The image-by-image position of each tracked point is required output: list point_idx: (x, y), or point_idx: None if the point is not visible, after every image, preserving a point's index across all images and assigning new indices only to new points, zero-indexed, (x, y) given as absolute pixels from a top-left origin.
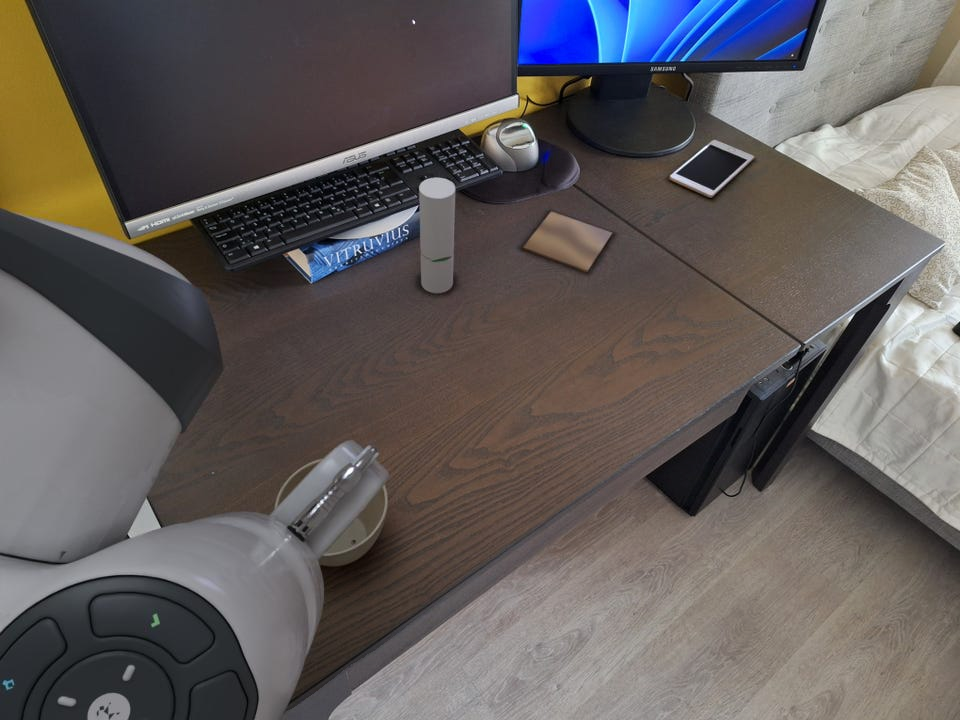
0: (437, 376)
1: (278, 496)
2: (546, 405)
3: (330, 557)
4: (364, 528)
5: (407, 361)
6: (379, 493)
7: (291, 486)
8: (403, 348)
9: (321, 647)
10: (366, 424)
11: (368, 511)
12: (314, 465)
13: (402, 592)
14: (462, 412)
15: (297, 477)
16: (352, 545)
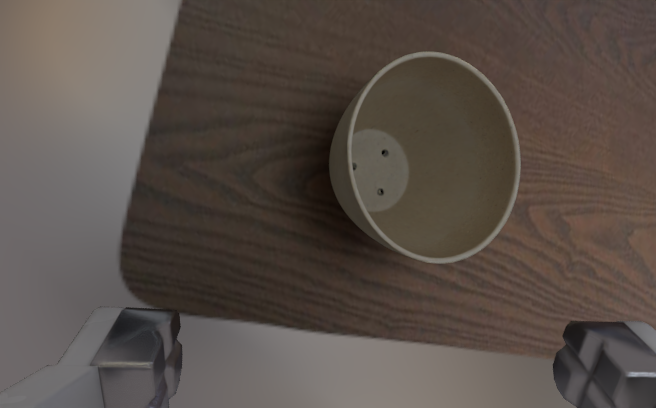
0: (602, 94)
1: (394, 64)
2: (644, 243)
3: (375, 234)
4: (404, 189)
5: (596, 41)
6: (483, 195)
7: (413, 64)
8: (606, 21)
9: (240, 281)
10: (505, 63)
11: (433, 182)
12: (465, 71)
13: (371, 303)
14: (586, 163)
15: (432, 62)
16: (376, 194)
